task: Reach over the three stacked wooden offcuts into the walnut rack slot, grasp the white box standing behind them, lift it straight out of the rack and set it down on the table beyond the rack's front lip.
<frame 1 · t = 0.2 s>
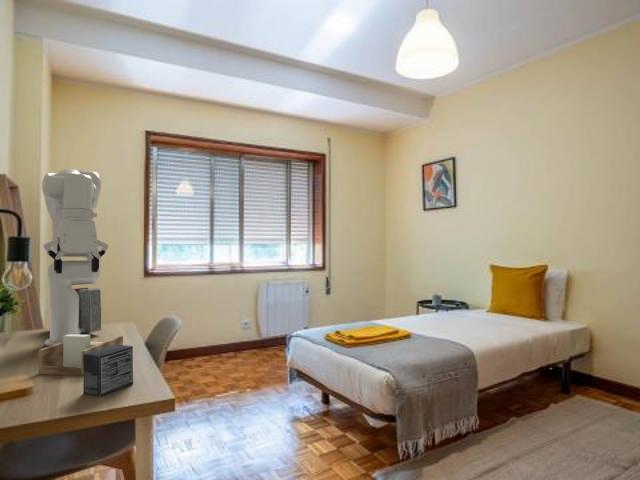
hand: (77, 272, 121), 30 cm above the table, tool pointing down, fingers open, 9 cm apart
small box: (108, 389, 107), on the table
offcut b: (103, 360, 134), resting in rack
rack: (83, 364, 128), on the table
offcut c: (94, 350, 134), point 3 cm above the table, touching offcut a
offcut a: (87, 359, 134), resting in rack, touching offcut c
white box: (76, 367, 125), resting in rack
decorative stone tablet: (76, 332, 176), on the table
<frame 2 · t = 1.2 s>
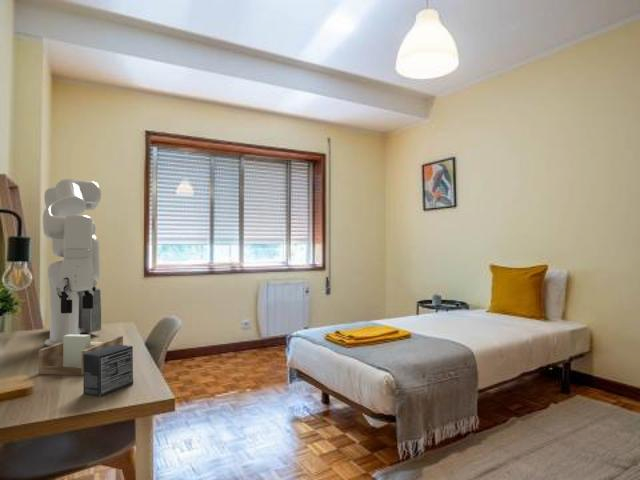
hand: (77, 310, 125), 18 cm above the table, tool pointing down, fingers open, 9 cm apart
offcut c: (96, 351, 134), point 3 cm above the table
offcut a: (87, 359, 134), resting in rack
everything else where it was.
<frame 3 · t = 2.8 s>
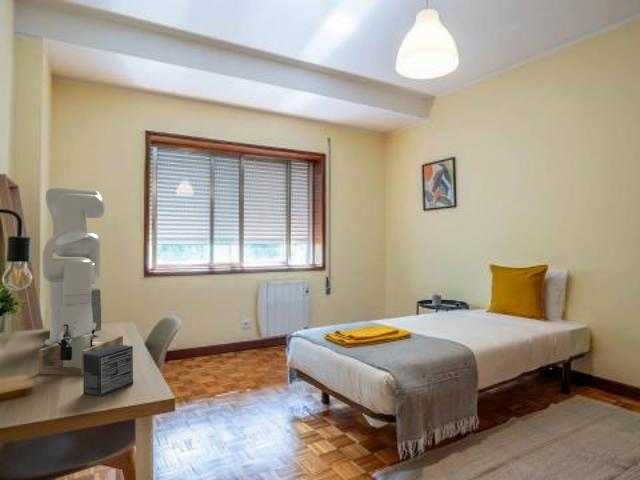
hand: (76, 355, 125), 4 cm above the table, tool pointing down, fingers open, 9 cm apart
offcut b: (105, 360, 134), resting in rack, touching offcut c
offcut c: (97, 350, 134), point 3 cm above the table, touching offcut a, offcut b
offcut a: (85, 359, 134), resting in rack, touching offcut c
everything else where it was.
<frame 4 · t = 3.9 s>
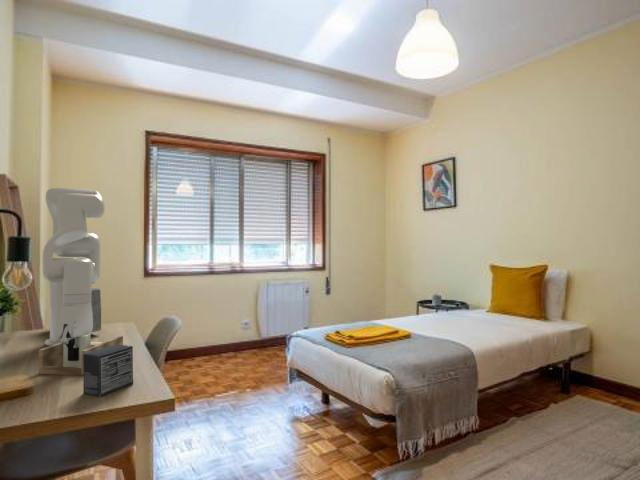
hand: (76, 358, 125), 3 cm above the table, tool pointing down, fingers closed on white box, 2 cm apart
offcut a: (85, 359, 134), resting in rack, touching offcut c
white box: (76, 367, 125), resting in rack, touching gripper
everything else where it was.
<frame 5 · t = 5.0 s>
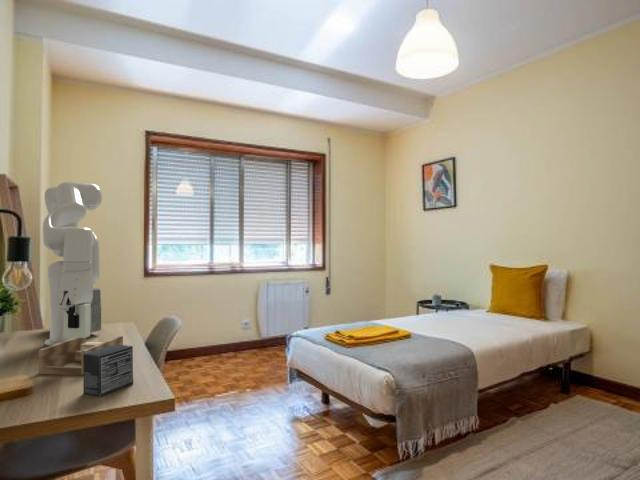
hand: (76, 326, 125), 13 cm above the table, tool pointing down, fingers closed on white box, 2 cm apart
offcut b: (105, 360, 134), resting in rack
offcut c: (94, 351, 134), point 3 cm above the table
offcut a: (85, 359, 134), resting in rack
white box: (76, 336, 125), point 9 cm above the table, touching gripper
everything else where it was.
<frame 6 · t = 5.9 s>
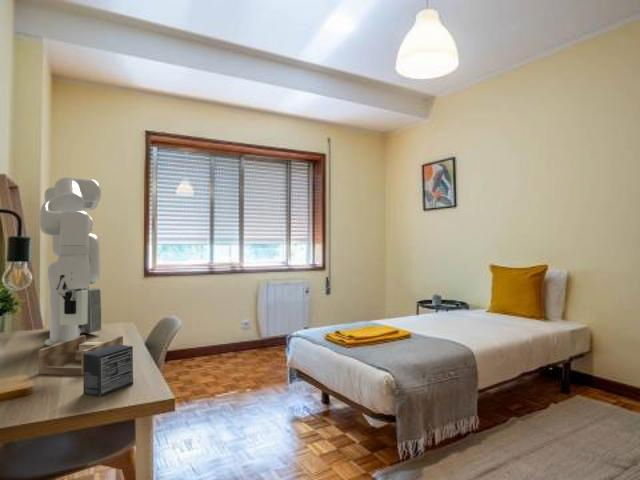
hand: (73, 312, 122), 17 cm above the table, tool pointing down, fingers closed on white box, 2 cm apart
offcut a: (86, 359, 135), resting in rack
white box: (73, 324, 122), point 14 cm above the table, touching gripper
everything else where it was.
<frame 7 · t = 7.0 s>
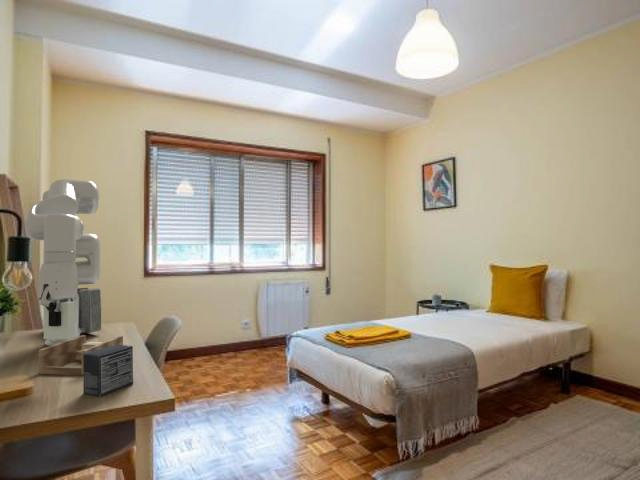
hand: (59, 324, 112), 16 cm above the table, tool pointing down, fingers closed on white box, 2 cm apart
offcut b: (106, 360, 134), resting in rack, touching offcut c
offcut c: (95, 351, 134), point 3 cm above the table, touching offcut b
white box: (58, 338, 112), point 12 cm above the table, touching gripper
everything else where it was.
when the fingers open (4 cm above the table, at t = 9.7 s): white box stays where it is, on the table.
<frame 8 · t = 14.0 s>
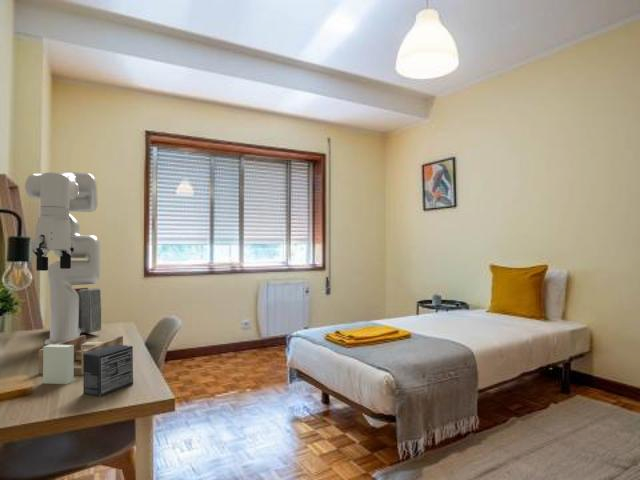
hand: (54, 269, 124), 30 cm above the table, tool pointing down, fingers open, 9 cm apart
offcut c: (94, 350, 134), point 3 cm above the table, touching offcut a, offcut b
offcut a: (86, 359, 135), resting in rack, touching offcut c
white box: (58, 382, 112), on the table
everything else where it was.
at the end: white box inside the target area (0.7 cm from its centre), on the table; the gripper is holding nothing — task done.
